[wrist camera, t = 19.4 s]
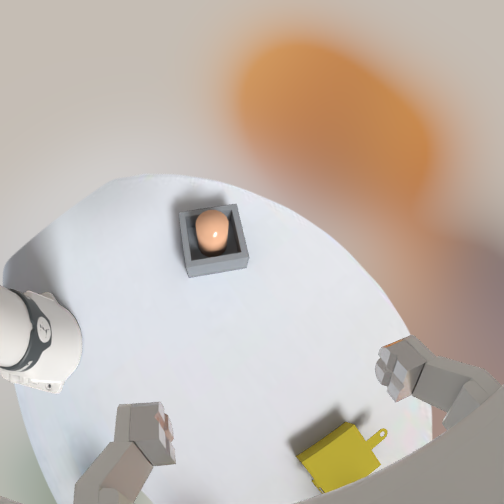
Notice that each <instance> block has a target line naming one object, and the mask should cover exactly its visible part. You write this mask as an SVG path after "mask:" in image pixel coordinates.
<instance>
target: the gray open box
mask: <svg viewBox="0 0 504 504" xmlns="http://www.w3.org/2000/svg"><path fill="white" fill-rule="evenodd" d="M207 210H217V211H220V212H222V213H223V214H224V215H225V216H226V217H227V219H228V223H229V226H228V237H227V247H226V250H225V252H224V253H223V254H222V255H220V256H217V257H207V256H205V255H203V254H202V253H201V252H200V250H199V247H198V240H197V232H196V220H197V218H198V216H199V215H200V214H201V213H203V212H205V211H207ZM179 220H180V228H181V235H182V243H183V250H184V257H185V264H186V269H187V272H188V276H189V278H191V277H197V276H203V275H209V274H215V273H220V272H226V271H232V270H237V269H243V268H247V264H248V260H249V254H248V250H247V246H246V241H245V237H244V233H243V229H242V225H241V220H240V216H239V212H238V208H237V204H231V205H224V206H217V207H211V208H204V209H198V210H192V211H185V212H179Z"/></svg>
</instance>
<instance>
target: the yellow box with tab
mask: <svg viewBox="0 0 504 504" xmlns="http://www.w3.org/2000/svg"><path fill="white" fill-rule="evenodd" d="M382 431H384V432H385V434H384V436H383V437H381V436H380V433H381V432H382ZM386 436H387V430H386V429H384V428H383V429H380V430H379V431H378V432H377V433H376V434H374V435H373V436H372V437H371V438H370V439H368V440H367V441H365V440H364V438H363V437H362V435H361V434H360V432H359V431H358V429H357V428H356V426H355V425H354V424H351V423H348V422H345V423H343V424H342V425H341V426H339V427H338V428H337V429H335V430H334V431H333V432H331V433H330V434H329V435H327V436H326V437H324V438H323V439H321V440H320V441H319V442H317V443H316V444H314V445H313V446H311V447H310V448H308V449H307V450H305V451H304V452H302V453H300V454H299V455H297V456H296V457H297V458H298V459H299V460H300V461H301V462H302V464H303V465H304V466H305V468H306V469H307V470H308V472H309V473H310V474H311V476H312V477H313V478H314V480H312V482H313V483H314V485H315V486H316V487H317V489H318V490H319V491H320V492H321V493H322V491H321V490H320V489H319V488H320V487H321V488H322V490H323V491H324V492H325V493H327V492H330V491H332V490H335V489H338V488H340V487H343V486H345V485H348V484H350V483H352V482H355V481H357V480H359V479H362V478H364V477H366V476H368V475H369V474H370V473H371V472H373V471H374V470H375V469H376V468H378V467H379V466H380V465H381V464H380V462H379V461H378V459H377V458H376V456H375V455H374V453H373V452H372V450H371V449H373V448H374V447H375V446H376V445H377V444H379V443H380V442H381V441H382V440H383V439H384V438H385V437H386ZM322 494H323V493H322Z"/></svg>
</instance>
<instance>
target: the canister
mask: <svg viewBox="0 0 504 504" xmlns="http://www.w3.org/2000/svg"><path fill="white" fill-rule="evenodd" d="M228 226H229V223H228V219H227V217H226V216H225V215H224V214H223V213H222V212H220V211H217V210H207V211H205V212H203V213H201V214H200V215H199V216H198V218H197V220H196V232H197V240H198V247H199V250H200V252H201V253H202V254H203V255H205V256H207V257H217V256H220V255H222V254H223V253H224V252H225V250H226V247H227V237H228Z"/></svg>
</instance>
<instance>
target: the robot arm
mask: <svg viewBox="0 0 504 504" xmlns="http://www.w3.org/2000/svg"><path fill="white" fill-rule="evenodd" d="M81 353H82V336H81V331H80V328H79V325H78V323H77V321H76V319H75V318H74V316H73V315H72V314H71V313H70V312H69V311H68V310H67V309H66V308H64V307H63V306H61V305H60V304H59V303H58V302H57V300H56V299H55V297H54V295H53V294H52V293H50V292H44V293H42V294H37V293H35V292H32V291H26V292H25V293H22V292H19V291H16V290H13V289H7V288H5V287H3V286H1V285H0V373H1V375H2V377H3V378H4V379H6V380H9V381H10V382H11V383H16V384H21V385H25V386H28V387H31V388H35V389H39V390H42V391H46V392H50V393H54V394H59V393H60V392H61V391H62V389H63V386H64V383H65V381H66V379H67V378H68V377H69V376H70V375H71V374H72V373H73V372H74V371H75V369H76V368H77V366H78V364H79V361H80V358H81ZM378 355H379V356H380V359H379V360H378V361H377V363H376V366H375V373H376V377H377V379H378V381H379V382H380V383H381V384H382V385H385V386H387V392H388V394H389V395H390V396H391V397H392V399H393V400H394V401H395V402H398V401H400V400H402V399H404V398H406V397H408V396H410V395H412V396H414V397H416V398H418V399H420V400H422V401H424V402H426V403H428V404H430V405H432V406H435V407H437V408H439V409H441V410H443V411H445V412H447V415H446V416H445V418H444V419H443V422H442V424H443V425H444V427H445V428H446V429H447V431H446V432H444V433H443V434H441V435H440V436H438V437H437V438H435V439H434V440H432V441H430V442H429V443H427V444H426V445H424V446H423V447H421V448H419V449H418V450H416V451H414V452H412V453H411V454H409V455H407V456H405V457H404V458H402V459H400V460H398V461H396V462H395V463H393V464H391V465H389V466H387V467H385V468H383V469H381V470H379V471H377V472H375V473H373V474H370V475H368V476H366V477H364V478H362V479H359V480H357V481H355V482H352V483H350V484H348V485H345V486H343V487H340V488H338V489H335V490H332V491H330V492H327V493H324V494H321V495H318V496H315V497H312V498H309V499H306V500H303V501H300V502H296V503H293V504H504V385H503V386H502V385H501V384H500V383H499V382H498V381H497V380H496V379H494V378H493V377H492V376H491V375H490V374H489V373H488V372H487V371H486V370H485V369H482V368H479V367H475V366H472V365H469V364H465V363H462V362H458V361H455V360H451V359H448V358H445V357H441V356H438V357H436V356H435V355H434V354H433V353H432V352H431V351H430V350H429V349H428V348H427V347H426V346H425V345H424V344H423V343H422V342H421V341H419V340H418V339H417V338H416V337H415V336H413V335H410V336H408V337H405V338H403V339H400V340H398V341H395V342H393V343H391V344H388V345H386V346H383V347H381V349H380V350H379V354H378ZM49 385H51V388H50V386H49ZM173 439H174V436H173V429H172V424H171V421H170V419H169V416H168V415H167V414H165V413H164V406H163V405H162V403H161V402H151V403H136V404H119V406H118V408H117V416H116V425H115V435H114V442H110V443H109V444H108V445H107V447H106V448H105V449H104V450H103V451H102V453H101V454H100V455H99V456H98V457H97V459H96V460H95V461H94V462H93V463H92V465H91V466H90V467H89V468H88V469H87V471H86V472H85V473H84V474H83V475H82V477H81V478H80V479H79V480H78V481H77V482H76V484H75V491H74V504H134V501H135V499H136V497H137V495H138V494H139V492H140V490H141V489H142V487H143V485H144V483H145V481H146V480H147V478H148V476H149V474H150V473H151V471H152V469H153V466H161V465H171V464H176V459H175V449H174V447H173V445H172V444H171V442H172V440H173ZM0 504H22V503H19V502H16V501H13V500H10V499H7V498H5V497H2V496H0Z"/></svg>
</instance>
